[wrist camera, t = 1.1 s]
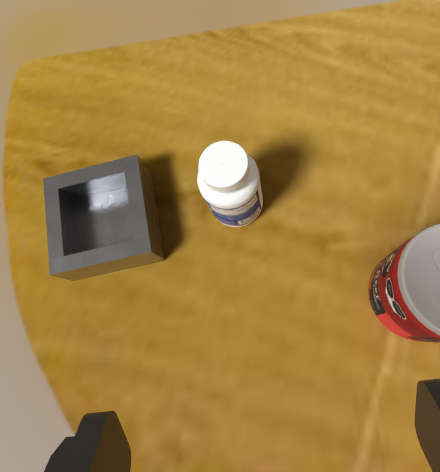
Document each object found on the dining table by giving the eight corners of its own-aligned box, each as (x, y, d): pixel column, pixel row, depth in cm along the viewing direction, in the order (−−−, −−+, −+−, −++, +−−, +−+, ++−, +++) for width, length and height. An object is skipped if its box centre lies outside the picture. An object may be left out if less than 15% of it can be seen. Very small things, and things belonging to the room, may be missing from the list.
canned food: (392, 238, 37) (436, 199, 26) (475, 285, 34) (560, 264, 24) (349, 305, 36) (376, 294, 25) (431, 359, 34) (499, 371, 23)
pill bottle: (216, 176, 41) (195, 129, 32) (266, 181, 40) (261, 134, 31) (207, 225, 40) (183, 192, 30) (259, 231, 39) (251, 199, 29)
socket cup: (67, 194, 44) (43, 178, 39) (151, 172, 43) (137, 154, 38) (74, 281, 41) (49, 274, 37) (165, 260, 40) (151, 251, 36)
